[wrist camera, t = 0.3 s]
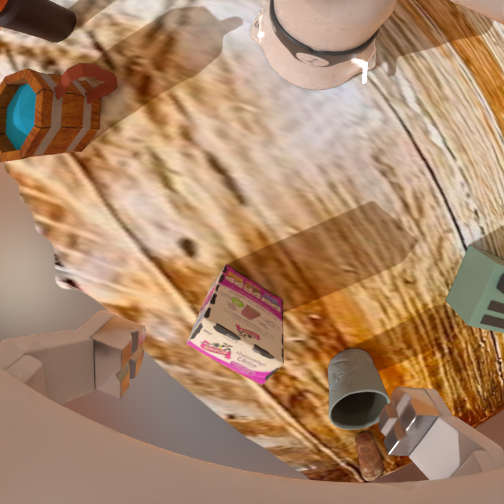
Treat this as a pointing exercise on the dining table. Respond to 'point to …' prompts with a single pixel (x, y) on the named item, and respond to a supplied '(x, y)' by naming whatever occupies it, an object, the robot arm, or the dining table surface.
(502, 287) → the slide switch
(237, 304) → the candy bar box
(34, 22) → the bottle
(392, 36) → the dining table surface
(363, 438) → the bread
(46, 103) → the mug
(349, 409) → the gray embossed cup
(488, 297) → the toaster
